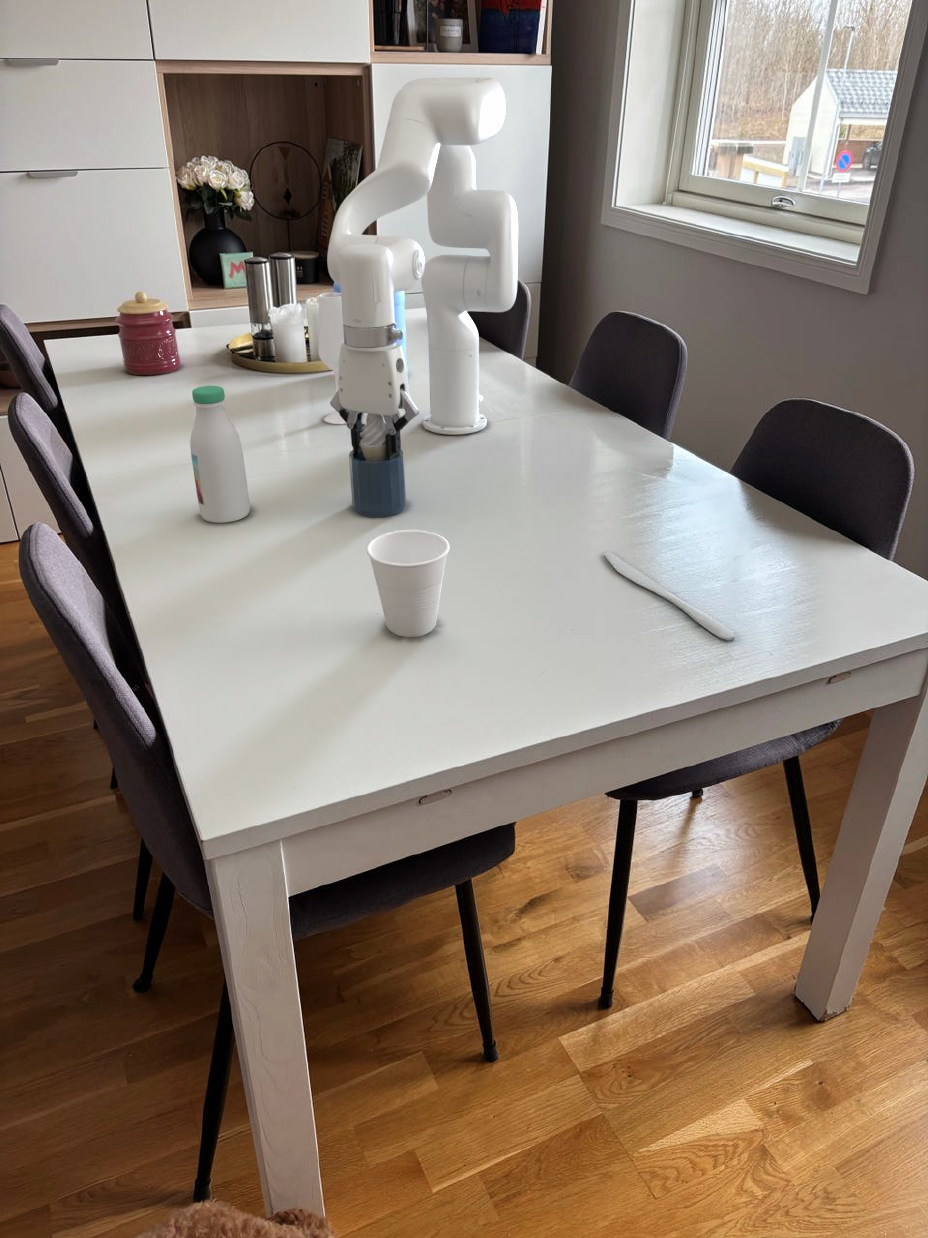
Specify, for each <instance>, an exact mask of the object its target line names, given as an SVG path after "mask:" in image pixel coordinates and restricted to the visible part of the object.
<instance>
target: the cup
mask: <svg viewBox="0 0 928 1238" xmlns="http://www.w3.org/2000/svg"><path fill="white" fill-rule="evenodd" d="M365 549H366V554H367V556H368V557H369V558H370V563H371V566H372V571H373V575H374V579H375V583H376V587H377V591H378V595H379V599H380V604H381V608H382V612H383V616H384V619H385V624H386V627H387V629H388V631H390V632H391V633H393V634H394V635H396V636H399V637H403V638H417V637H422V636H425V635H427V634H429V633H430V632H431V631H432V630H433V629H434V628H435V627H436V626H437V620H438V615H439V608H440V607H439V606H440V600H441V594H442V587H443V581H444V577H445V569H446V563H447V557H448V556H447V555H448V553H449V552H450V543H449V541H448V540H447V539H446V538H445V537H443V536H442V535H439V534H438V533H435V532H432V531H428V530H421V529H403V530H401V529H400V530H395V531H391V532H390V531H389V532H386V533H383V534H380V535H378V536H375V537H374V538H373V539H372V540H371V541H369V543H368V544H367V546H366V548H365Z"/></svg>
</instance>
